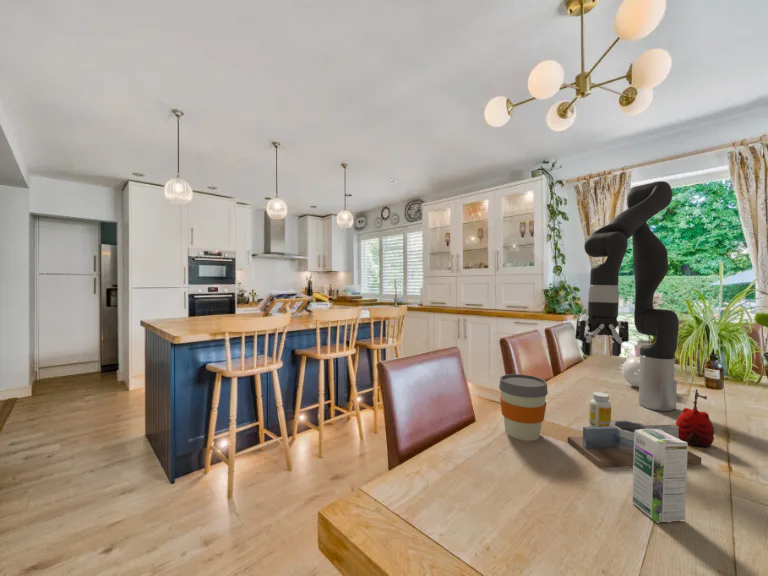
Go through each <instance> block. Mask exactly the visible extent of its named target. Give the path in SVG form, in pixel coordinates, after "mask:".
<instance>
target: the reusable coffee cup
mask: <svg viewBox="0 0 768 576" xmlns="http://www.w3.org/2000/svg"><path fill="white" fill-rule="evenodd" d="M499 390H500V396H499V403H500V410H501V414H502V416H503V423H504V424H503V425H504V430H505V431H504V432H505V433H506V435H508V436H509V437H511V438H514V439H517V440H520V441H526V442H527V441H529V442H531V441H536V440H538V439H539V438H540V436H541V430H542V425H543V424H542V423H543V421H544V420H545V416H546V408H547V402H546V400H547V399H546V396H548V393H549V392H548V384H547V381H546V380H545V379H543V378H540V377H537V376H534V375H529V374H521V373H510V374H508V373H507V374H504V375H502V376H500V377H499Z"/></svg>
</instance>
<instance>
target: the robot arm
mask: <svg viewBox="0 0 768 576" xmlns="http://www.w3.org/2000/svg"><path fill="white" fill-rule="evenodd" d="M672 200H673V189H672V187H671V185H670V183H668V182H667V181H664V180H660V181H654V182H649V183H645V184H641V185H636V186H633V187H630V189H629V190H628V192H627V197H626V203H627V204H626V205H627V209H625V210H623V211H621V212H620V213H618V214H617V215H616V216H615V217H614V218H613V219H612V220H611V221H610V222H609V223H608V224H606V225H605V226H602V227H600V228H599V229H597V230H595V231H594V232H592V233H591V234H589V236H587V238H586V239H585V242H584V245H583V247H584V252H585V253H586V254H587V255H588V256H590V258H591V257H593V258H605V257H606V259H605V261H604V262H603V263H601V264H597V265H594V266H592V267H590V268H591V269H590V273H589V274H590V276H589V290H588V302H587V303H588V304H587V316H588V319H587V320H585V319H577V320H576V327H575V337H574V338H575V340H578V341H581V352H582V353H583V355H585V356H588V357H589V356H590V355H591V343H590V342H591V341H592V340H593V339H594V338H596V336H608V337H609V338H610V339H611V341H612V344H611V345H612V346H611V347H612V349H611V355H612V356H614V357H620V355H621V353H622V344H624V343H627V342H629V339H630V338H629V335H630V334H629V327H630V326H629V322H628V321H626V320H619V321H618V320H617V319H618V317H619V299H620V292H619V278H620V277H619V274H620V273H619V272H620V269H621V265H622V263H623V260H624V257H625V254H626V252H627V249H628V244H629V243H628V239H630V238H632V239H631V240H632V260H633V262H632V264H633V272H634V293H635V294H634V295H635V296H634V297H635V298H634V311H633V312H634V315H633V316H634V317H633V321H634V327H635V329H636V331H637V332H638V333H640V334H642V335H646V336H647V335H648V336H654V337H655V341H654V342H653V343H651V344H645V345H641V346H640V348H639V357H640V369H639V388H638V404H639V406H641V407H643V408H647V409H648V410H649V409H650V410H653V411H654V410H655V411H660V412H672V411H673V410H676V409H677V393H678V392H677V391H678V390H677V385H678V381H677V380H675V358H676V357H675V356H676V355H675V354H676V352H677V347H678V339H679V326H680V321H679V317H678V314H677V313H676V312H674V311H673V310H670V309H661V308H658V309H657V308H654V295H655V292H656V290H657V289H658V287H659V286H660V284H661V283H662V281H663V280H664V278H666V276H667V273H668V270H669V259H668V258H669V257H668V250H667V247H666V245H665V244H664V243H663V242H662V241H661V239H660V238H659V237H658V236H657V235H656V234H655V233H654V232H653V230H652V229H651V228H650V226H649V225H648V221H649V220H650V219H651V218H653V217H654V216H655V215H657V214H659V213H660V212H662V211H664V210H666V208H667V207H669V206H670V204H671V203H672ZM586 327H587V328H588V329H587V330H586ZM617 329H618V331H617ZM585 330H586V331H585Z"/></svg>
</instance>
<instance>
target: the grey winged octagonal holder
mask: <svg viewBox="0 0 768 576" xmlns="http://www.w3.org/2000/svg"><path fill="white" fill-rule="evenodd" d="M678 428H679V427H678V426H676V424H653V425H652V424H651V425H645V424H643V423H640V422H636V421H632V420H627V419H611V422H610V424H609V426H604V427H592V426H583V427H582V436H583V447H584V448H585V449H612V448H616V449H618V450H619V451H622V452H626V453H629V454H633V455H634V434H635V430H639V429H658V430H662V431H664V432H665V433H667V434H669V435H672V436H674V437H676V438H678ZM678 439H679V438H678Z"/></svg>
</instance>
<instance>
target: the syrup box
mask: <svg viewBox="0 0 768 576" xmlns="http://www.w3.org/2000/svg"><path fill="white" fill-rule="evenodd" d="M688 449H689V444H688V443H687V442H685V441H682V440H680V439H679V438H676V437H674V436H672V435H669V434H667V433H665V432H664V431H662V430H658V429H639V430H635V434H634V464H633V466H632V467H633V468H632V469H633V470H632V494H631V495H632V496H631V503H633V506H636V507H637V508H638V509H639V510H640V511H641V512H643V513H644V514H646V516H647V517H649V518H650V519H652V521H653V522H655V523H656V522H667V523H670V522H669V521H680V522H682V521H681V520H685V521H686V503H687V501H686V499H687V474H688V473H687V471H688V465H687V454H688V451H689V450H688Z"/></svg>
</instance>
